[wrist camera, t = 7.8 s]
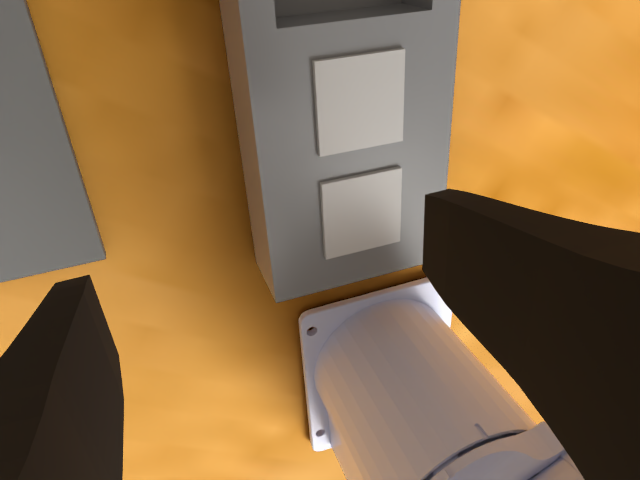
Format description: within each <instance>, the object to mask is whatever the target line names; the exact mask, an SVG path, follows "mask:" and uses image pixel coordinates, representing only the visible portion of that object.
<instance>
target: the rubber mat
mask: <svg viewBox="0 0 640 480" xmlns="http://www.w3.org/2000/svg"><path fill="white" fill-rule="evenodd" d="M104 259H106V252H105V249H104V245H103V242H102V239H101V236H100V233H99V230H98V226H97V223H96V220H95V217H94V214H93V211H92V207H91V204H90V201H89V198H88V195H87V192H86V188H85V185H84V182H83V179H82V176H81V173H80V169H79V166H78V163H77V160H76V157H75V154H74V150H73V147H72V144H71V141H70V138H69V135H68V131H67V128H66V125H65V122H64V119H63V116H62V112H61V109H60V106H59V103H58V100H57V97H56V93H55V90H54V87H53V84H52V81H51V78H50V75H49V71H48V68H47V65H46V62H45V59H44V56H43V52H42V49H41V46H40V43H39V40H38V37H37V33H36V30H35V27H34V24H33V21H32V18H31V14H30V11H29V8H28V5H27V2H26V0H0V282H5V281H9V280H14V279H18V278H23V277H27V276H32V275H36V274H41V273H45V272H50V271H54V270H59V269H63V268H68V267H72V266H77V265H81V264H86V263H90V262H95V261H99V260H104Z"/></svg>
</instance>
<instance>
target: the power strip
mask: <svg viewBox="0 0 640 480" xmlns="http://www.w3.org/2000/svg"><path fill="white" fill-rule="evenodd" d="M460 4H461V0H219V5H220V12H221V19H222V26H223V33H224V40H225V47H226V54H227V61H228V68H229V75H230V82H231V89H232V96H233V103H234V110H235V117H236V124H237V131H238V138H239V145H240V152H241V159H242V166H243V173H244V180H245V187H246V195H247V202H248V209H249V216H250V223H251V230H252V237H253V244H254V251H255V258H256V263H257V265H258V267H259V269H260V271H261V273H262V276H263V278H264V280H265V282H266V284H267V286H268V288H269V290H270V292H271V294H272V296H273V298H274V300H275V302H276V303H279V302H282V301H286V300H290V299H294V298H298V297H301V296H305V295H309V294H313V293H316V292H320V291H324V290H328V289H331V288H335V287H339V286H343V285H346V284H350V283H354V282H358V281H362V280H365V279H369V278H373V277H377V276H380V275H384V274H388V273H392V272H395V271H399V270H403V269H407V268H410V267H414V266H418V265H422V264H423V236H424V206H425V194H429V193H434V192H438V191H442V190H446V188H447V175H448V162H449V148H450V135H451V122H452V109H453V96H454V83H455V69H456V56H457V43H458V30H459V17H460Z"/></svg>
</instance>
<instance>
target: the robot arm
mask: <svg viewBox="0 0 640 480" xmlns="http://www.w3.org/2000/svg"><path fill="white" fill-rule="evenodd" d="M422 270H423V272H424V273H425V275H426V276H427V277H426V278H423V279H419V280H415V281H412V282H408V283H404V284H401V285H397V286H394V287H390V288H386V289H383V290H379V291H375V292H372V293H368V294H364V295H361V296H357V297H353V298H350V299H346V300H342V301H339V302H335V303H331V304H328V305H324V306H320V307H317V308H313V309H309V310H307V311H304V312H303V313H302V314H301V315H300V317H299V332H300V342H301V352H302V362H303V372H304V382H305V392H306V402H307V412H308V422H309V433H310V443H311V446H312V448H313V450H314V451H323V450H326V449H328V448H331V447H332V449H333V451H334V453H335V455H336V458H337V460H338V462H339V464H340V466H341V468H342V471H343V473H344V475H345V477H346V479H347V480H640V233H638V232H631V231H625V230H619V229H613V228H608V227H602V226H597V225H592V224H588V223H584V222H579V221H575V220H571V219H566V218H562V217H558V216H554V215H550V214H546V213H542V212H539V211H535V210H531V209H528V208H524V207H520V206H517V205H513V204H510V203H506V202H502V201H499V200H495V199H492V198H488V197H484V196H481V195H477V194H473V193H469V192H464V191H459V190H453V189H446V190H442V191H438V192H434V193H429V194H425V206H424V236H423V266H422ZM452 312H453V313H454V314H455V315H456V316H457V318H458V319H459V320H460V321H461V322H462V323H463V324H464V325H465V326H466V328H467V329H468V330H469V331H470V332H471V333H472V334H473V335H474V336H475V337H476V338H477V339H478V341H479V342H480V343H481V344H482V345H483V346H484V347H485V348H486V349H487V350H488V351H489V352H490V354H491V355H492V356H493V357H494V358H495V359H496V360H497V361H498V362H499V363H500V364H501V365H502V367H503V368H504V369H505V370H506V371H507V372H508V373H509V375H510V376H511V377H512V378H513V379H514V380H515V382H516V383H517V384H518V385H519V386H520V388H521V389H522V390H523V392H524V393H525V395H526V396H527V397H528V399H529V400H530V401H531V403H532V404H533V405H534V407H535V408H536V409H537V411H538V412H539V413H540V415H541V416H542V418H543V419H544V420H545V422H540V423H539V424H537V425H536V423H535V422H534V421H533V420H532V419H531V418H530V417H529V416H528V414H527V413H526V412H525V411H524V410H523V409H522V408H521V407H520V406H519V404H518V403H517V402H516V401H515V400H514V399H513V398H512V397H511V395H510V394H509V393H508V392H507V391H506V390H505V389H504V388H503V387H502V385H501V384H500V383H499V382H498V381H497V380H496V379H495V378H494V377H493V375H492V374H491V373H490V372H489V371H488V370H487V369H486V368H485V366H484V365H483V364H482V363H481V362H480V361H479V360H478V359H477V358H476V356H475V355H474V354H473V353H472V352H471V351H470V350H469V349H468V347H467V346H466V345H465V344H464V343H463V342H462V341H461V340H460V339H459V337H458V336H457V335H456V334H455V333H454V332H453V331H452V330H451V329H450V327H451V316H452ZM311 327H314V328H313V329H312V330H310V331H307V330H308V329H309V328H311ZM123 425H124V396H123V387H122V378H121V370H120V362H119V355H118V352H117V349H116V346H115V344H114V341H113V338H112V335H111V333H110V330H109V327H108V324H107V322H106V319H105V316H104V313H103V311H102V308H101V305H100V302H99V300H98V297H97V294H96V291H95V289H94V286H93V283H92V280H91V277H90V275H87V276H82V277H78V278H74V279H70V280H66V281H62V282H57V283H55V284H54V286H53V287H52V288H51V290H50V291H49V292H48V294H47V295H46V297H45V298H44V299H43V301H42V302H41V304H40V305H39V306H38V308H37V309H36V311H35V312H34V313H33V315H32V316H31V318H30V319H29V320H28V322H27V323H26V325H25V326H24V327H23V329H22V330H21V331H20V333H19V334H18V335H17V337H16V338H15V340H14V341H13V342H12V344H11V345H10V346H9V348H8V349H7V350H6V351H5V353H4V354H3V355H2V356H1V357H0V480H122V472H123Z"/></svg>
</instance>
